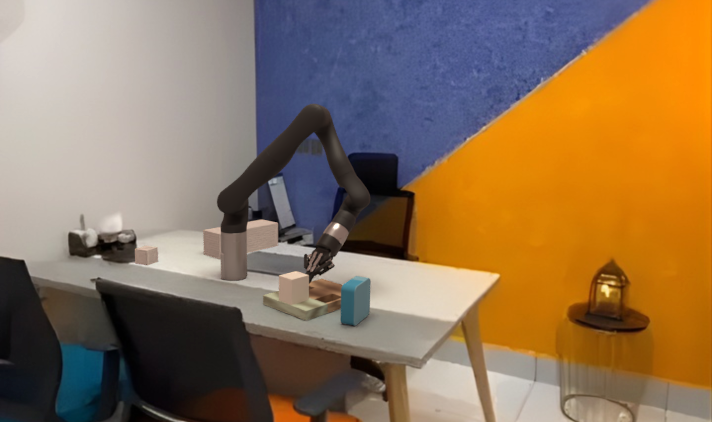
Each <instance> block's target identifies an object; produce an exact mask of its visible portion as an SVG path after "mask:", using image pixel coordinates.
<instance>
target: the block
mask: <svg viewBox="0 0 712 422" xmlns="http://www.w3.org/2000/svg"><path fill="white" fill-rule="evenodd" d="M278 291H279V301H282V302H285V303H287V304H290V305H294V304H297V303H300V302H304V301H307V300H309V275H307V274H305V273H303V272H300V271H298V270H297V271H296V270H295V271H292V272H288V273H283V274H280V275H278Z"/></svg>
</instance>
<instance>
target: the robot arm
mask: <svg viewBox="0 0 712 422" xmlns="http://www.w3.org/2000/svg"><path fill="white" fill-rule="evenodd" d="M312 134H315V135H316V137H317V138H318V140H319V141H320V144H321V145H322V147H323V150H324V153H325V156H326V159H327V164H328V167H329V170H331V173H332V175H333V178H334V179H335V181H336V183H337V185H338V186H339V187H340V188H343V189H344V190H345V191H346V193H347V195H346V197H345V198H344V200H343V202H342V204H341V205H340V207H339V210H338V212H336V214H335V215H334V217H333V219H332V220H331V222H330V223H329V224H328V225H327V226H326V228H325V229H324V231H323V233H322V234H321V236H320V237H319V238H318V240H317V241H316V243H315V249H314V250H312V251H311V253H309V254H308V253H304V254H303V268H304V269H305V273H304V274H307V275H309V284H310V283H311V282H312V281H314V280H313V279H314V278H315V277H316V276H322V275H324V274H326V273H327V272H328V271H330V270H332V269H333V268H335V263H334V262H333V260H334V258H335V257H336V256H337V255H338V254H339V252H340V250H341V249H342V247H343V245H344V243H345V242H346V240H347V238H348V236H349V235H350V232H352V231H353V230H352V229H353V228H354V226H355V224H356V220H357V218H358V217H359V215H360V214H361V212H362V211H363V210H364V209H366V208H367V207H368V206H369V205H370V203H371V195H370V192H369V190H368V189H367V187H366V186H365V184H364V183H363V181H362V180H361V179H360V178H359V177H358V176H357V173H356V172H355V170H354V167H353V166H352V163H351V162H350V160H349V157H348V156H347V153H346V152H345V150H344V148H343V145H342V143H341V141H340V139H339V136H338V133H337V130H336V128H335V124H334V121H333V118H332V115H331V111H329V109H328V108H327V107H326V106H324V105H321V104H319V103H309V104H307V105H305V106H304V107H303V108H302V109H301V110H300V112H298V114H297V115H296V116H295V118H293V120H292V122H291V123H289V125H288V126H287V127H286V129H284V131H282V132H281V133H280V134H279V135H278V136H277V137H276V138H275V139H274V140H272V142H270V144H268V145H267V146H266V147H265V148H264V149H263V150H262V151H261V152H260V153H259V154H258V155H257V157H256V158H254V160H253V161H251V163H250V164H249V166H247V168H246V169H245V170H244V171H243V172H242V173H241V174H240V175H239V176H238V177H237V178H236V179H235V180H234V181H233V182H231V183H230V184H229V185H228V186H227V187H225V188H224V189H223V190H221V191H220V193H219V194H218V196H217V198H216V205H217V208H218V210H219V211H220V212H221V213H223V218H222V221H221V223H220V227H221V259H220V280H227V281H239V280H243V279H246V278H248V253H247V223H248V222H249V210H250V209H249V205H250V204H249V202H250V200H249V198H250V197H251V196H252V195H253V193H255V192H256V191H257V190H258V189H260V188H261V187H262V186H264V185H265V184H267V183H268V182H270V181H271V180H272V179H273V178H275V177H276V176H277V175H278V174H279V173H280V172H281V171H282V170H283V169H284V168H285V167H287V165H288V164H289V163H290V162H291V160H292V158H294V155H295V154H296V152H297V150H298V148H299V147H300V146H301V145H302V144H303V142H304V141H306V140H307V139H308V138H309V137H310V136H311V135H312Z"/></svg>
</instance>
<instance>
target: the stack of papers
mask: <svg viewBox="0 0 712 422" xmlns="http://www.w3.org/2000/svg"><path fill="white" fill-rule="evenodd" d="M202 232H203V234H202V237H203V238H202V239H203V243H202V244H203V245H202V246H203V255H204V256H207V257H211V258H214V259H217V260H221V226H217V227H213V228H207V229H203V230H202ZM278 246H279V223H278V222H275V221H271V220H265V219H257V220H251V221H248V223H247V254H248V253H253V252H257V251H261V250H266V249H267V250H268V249H270V248H275V247H278Z"/></svg>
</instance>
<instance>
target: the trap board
mask: <svg viewBox="0 0 712 422" xmlns="http://www.w3.org/2000/svg"><path fill="white" fill-rule="evenodd" d="M342 285H343V284H341V283H337V282H334V281H331V280H329V279H328V280H327V279H325V278H319V279H316V280H312V281H311V283H310V284H309V300H307V301H304V302H300V303H297V304H294V305H290V304H287V303H285V302H282V301H279V290H277V291H273V292H270V293H266V294H263V295H262V297H263V298H262V302H263V303H262V304H263V305H264V306H267V307H269V308H272V309H274V310H278V311H280V312H283V313H284V314H285V313H286V314H287V315H290V316H293V317H295V318H297V319H300V320H303V321H309V320H312V319H315V318H318V317H321V316H324V315H327V314H330V313H333V312H334V311H338V310H341V288H342Z"/></svg>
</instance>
